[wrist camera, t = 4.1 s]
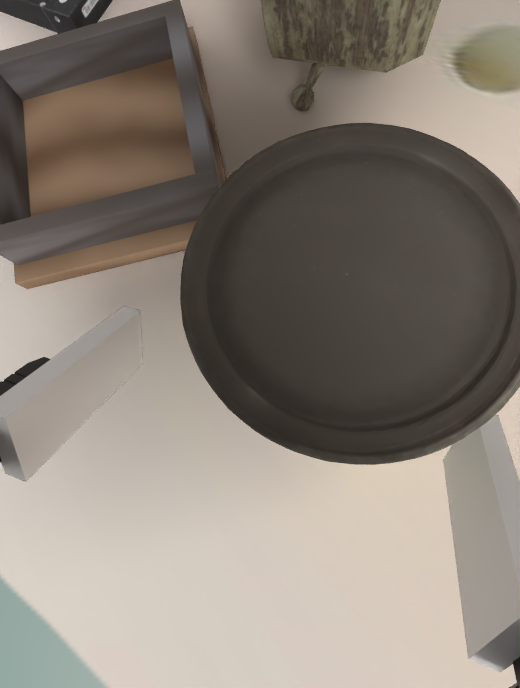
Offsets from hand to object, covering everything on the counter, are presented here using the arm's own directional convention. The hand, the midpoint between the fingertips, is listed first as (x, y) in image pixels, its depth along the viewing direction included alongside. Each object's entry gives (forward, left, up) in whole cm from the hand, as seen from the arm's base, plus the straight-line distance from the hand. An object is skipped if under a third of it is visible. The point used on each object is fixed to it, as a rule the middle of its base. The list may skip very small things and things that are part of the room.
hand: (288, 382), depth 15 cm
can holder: (+21, +9, -9) cm, 25 cm away
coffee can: (+2, -3, -10) cm, 10 cm away
